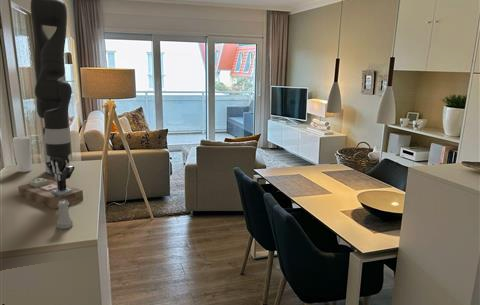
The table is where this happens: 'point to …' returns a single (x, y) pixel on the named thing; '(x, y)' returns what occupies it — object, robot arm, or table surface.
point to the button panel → (49, 195)
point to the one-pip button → (49, 187)
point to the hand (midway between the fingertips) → (62, 189)
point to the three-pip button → (38, 182)
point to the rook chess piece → (64, 215)
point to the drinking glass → (23, 153)
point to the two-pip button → (61, 192)
